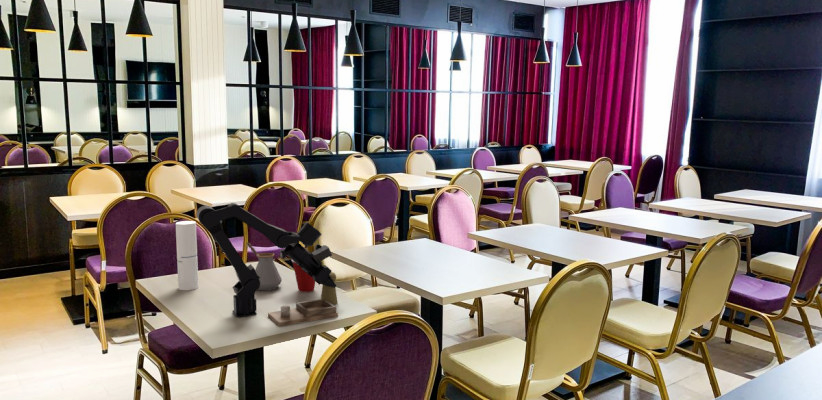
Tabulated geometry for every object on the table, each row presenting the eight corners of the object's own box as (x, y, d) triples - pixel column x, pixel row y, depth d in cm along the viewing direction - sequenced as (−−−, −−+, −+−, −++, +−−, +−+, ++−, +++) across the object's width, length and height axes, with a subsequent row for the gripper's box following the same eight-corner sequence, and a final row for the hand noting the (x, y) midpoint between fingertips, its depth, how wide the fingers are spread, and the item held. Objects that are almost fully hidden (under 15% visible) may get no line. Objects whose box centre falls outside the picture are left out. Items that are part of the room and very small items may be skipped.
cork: (334, 306, 217) (334, 275, 216) (317, 305, 219) (317, 274, 217) (339, 301, 223) (339, 271, 222) (323, 300, 224) (323, 270, 223)
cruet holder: (279, 326, 197) (278, 313, 196) (268, 316, 206) (267, 303, 206) (337, 316, 207) (337, 304, 206) (324, 307, 216) (324, 295, 216)
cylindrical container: (194, 290, 234) (191, 224, 231) (175, 290, 234) (172, 224, 231) (201, 285, 241) (198, 221, 238) (182, 284, 241) (179, 220, 238)
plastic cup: (325, 287, 240) (325, 256, 239) (313, 295, 230) (313, 263, 228) (299, 284, 243) (299, 254, 241) (286, 292, 233) (286, 261, 231)
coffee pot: (287, 288, 238) (286, 249, 236) (259, 293, 231) (258, 254, 229) (261, 276, 255) (260, 240, 252) (234, 281, 247) (233, 244, 245)
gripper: (325, 244, 207) (356, 273, 214) (310, 233, 224) (339, 261, 230) (302, 269, 205) (334, 298, 212) (288, 257, 222) (319, 284, 228)
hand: (332, 284), depth 220 cm, fingers open, 6 cm apart
